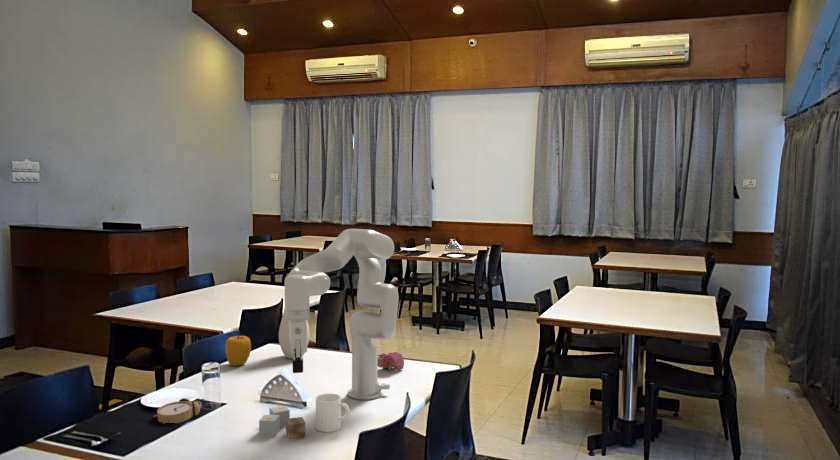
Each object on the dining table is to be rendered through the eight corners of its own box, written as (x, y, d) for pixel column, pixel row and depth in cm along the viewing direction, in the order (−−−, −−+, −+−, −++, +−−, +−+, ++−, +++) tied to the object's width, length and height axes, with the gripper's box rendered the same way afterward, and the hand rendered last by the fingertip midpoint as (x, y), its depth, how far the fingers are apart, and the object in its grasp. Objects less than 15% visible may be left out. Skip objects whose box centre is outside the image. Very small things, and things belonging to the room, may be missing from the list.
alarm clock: (149, 410, 200) (188, 391, 212) (151, 424, 201) (191, 404, 213) (168, 418, 194) (208, 398, 206) (171, 432, 195) (210, 411, 207)
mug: (342, 436, 189) (342, 405, 188) (310, 429, 194) (310, 399, 193) (355, 427, 196) (356, 397, 195) (324, 420, 201) (324, 392, 200)
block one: (279, 430, 193) (279, 414, 193) (275, 436, 188) (275, 420, 188) (264, 429, 193) (264, 414, 193) (259, 436, 188) (259, 420, 188)
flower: (380, 374, 263) (390, 353, 266) (399, 381, 257) (408, 359, 261) (368, 365, 254) (378, 343, 258) (386, 371, 249) (396, 349, 253)
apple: (246, 368, 258) (246, 339, 257) (221, 368, 258) (221, 338, 257) (254, 361, 269) (254, 332, 268) (230, 361, 269) (229, 332, 268)
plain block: (302, 432, 192) (302, 416, 191) (305, 438, 187) (305, 422, 187) (286, 434, 190) (286, 418, 189) (289, 440, 185) (289, 424, 185)
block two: (284, 420, 201) (284, 405, 201) (289, 425, 197) (289, 409, 197) (269, 423, 199) (269, 407, 198) (274, 428, 195) (274, 412, 194)
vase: (273, 360, 271) (273, 294, 269) (285, 352, 284) (285, 289, 282) (303, 362, 268) (303, 295, 266) (313, 354, 282) (313, 290, 280)
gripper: (310, 319, 182) (311, 378, 183) (308, 309, 196) (308, 364, 198) (285, 320, 180) (285, 380, 181) (284, 310, 194) (285, 365, 196)
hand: (297, 371), depth 190 cm, fingers closed
